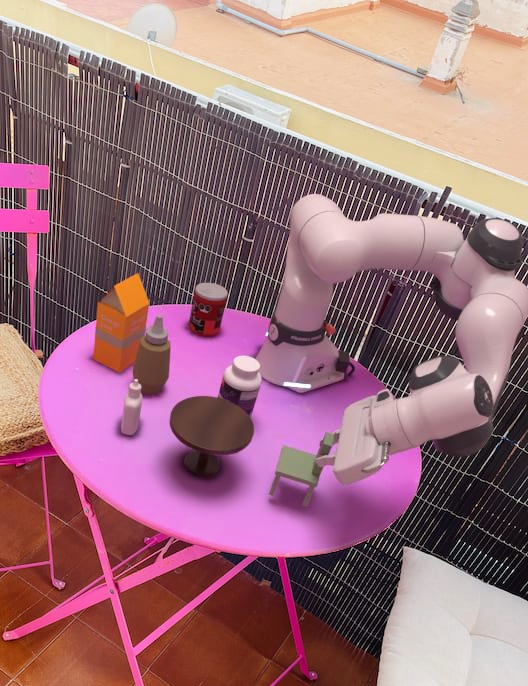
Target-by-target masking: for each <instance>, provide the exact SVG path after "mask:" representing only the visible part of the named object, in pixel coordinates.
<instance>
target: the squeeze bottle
mask: <svg viewBox="0 0 528 686" xmlns="http://www.w3.org/2000/svg"><path fill="white" fill-rule="evenodd" d="M168 338H169V332H168V330H167V329H166V328H164V320H163V315H161V314H158V315H156V317H155V320H154V322H153V325H152V326H149V327H146V331H145V336H143V337H142V338H141V340H140V343H139V347H138V351H137V355H136V359H135V362H134V363H133V367H132V378H133V381H134V380H135V379H137V380H138V383H139V384H140V385H141V394H144V395H149V396H154V395H158V394H159V393H161V391H162V390H163V389H164V387H165V385H166V383H167V381H168V380H169V378H170V364H171V363H170V362H171V346H172V345H171V344H172V343H171V341H170V340H169V339H168Z"/></svg>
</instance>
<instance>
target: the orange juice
mask: <svg viewBox="0 0 528 686" xmlns="http://www.w3.org/2000/svg"><path fill="white" fill-rule="evenodd" d="M149 306H150V300H149V297H148V296H147V291H146V290H145V287H144V285H143V282H142V279H141V276H140V274H139V272H137V273H135V274H134V275H131V276H129V277H128V278H126V279H124V280H122V281H121V282H119V283H117V284H115V285H113V288H111V290H109V291H108V292H107V293H106V295H104V296H103V297H102V299H100V300H99V301H98V302H97V310H96V321H95V331H94V346H93V357H92V359H93V360H95V361H96V362H98V363H100V364H102V365H104V366H105V367H108V368H109V369H111V370H113V371H115V372H117V373H121V372H122V371H124V370H125V369H127V368H128V367H130V366H131V365H134V363H135V359H136V355H137V351H138V347H139V343H140V340H141V338H142V337H143V336H145V335H146V330H147V322H148V314H149Z"/></svg>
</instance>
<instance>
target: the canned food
mask: <svg viewBox="0 0 528 686" xmlns="http://www.w3.org/2000/svg"><path fill="white" fill-rule="evenodd" d="M227 299H228V290H227V289H226V288H225V287H224V286H223V285H220V284H218V283H213V282H201V283H199V284H197V285H196V286H195V288H194V293H193V299H192V304H191V309H190V315H189V320H188V329H189V331H190V332H191V333H193V334H194V335H196V336H198V337H203V338H211V337H215V336H216V335H218V334H219V332H220V330H221V326H222V321H223V317H224V312H225V308H226V304H227Z"/></svg>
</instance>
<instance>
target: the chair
mask: <svg viewBox="0 0 528 686" xmlns="http://www.w3.org/2000/svg"><path fill="white" fill-rule="evenodd" d="M322 439H323V440H322V443H321V445H320V446H319V448H318V450H317V453H316V454H315V453H314V454H313V453H311V452H307V451H304V450H301V449H297V448H295V447H291V446H289V445H284V444H283V445H282V448H281V452H280V454H279V458H278V462H277V464H276V468H275V472H274V478H273V482H272V485H271V488H270V490H269V493H268V495H269V496H271V497H274V496H275V494H276V490H277V487H278V485H279V482H280V479H281V478H284V479H288V480H289V481H290V480H291V481H294V482H297V483H301V484H304V485H306V486H308V488H307V492H306V494H305V496H304V499H303V502H302V506H303V507H308V506H309V503H310V501H311V498H312V496H313V493H314V490H315V488H317V487H318V485H319V481H320V477H321V474H322V471H323V469H324V467H325V466H323V467H319V466H318V465H317V463H316V458H317V455H320V454H323V453H325V454H326V455H330V452H331V450H332V448H333V446H332V444H333V439H334V434H332V432H328V431H325V433H324V436H323V438H322Z"/></svg>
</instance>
